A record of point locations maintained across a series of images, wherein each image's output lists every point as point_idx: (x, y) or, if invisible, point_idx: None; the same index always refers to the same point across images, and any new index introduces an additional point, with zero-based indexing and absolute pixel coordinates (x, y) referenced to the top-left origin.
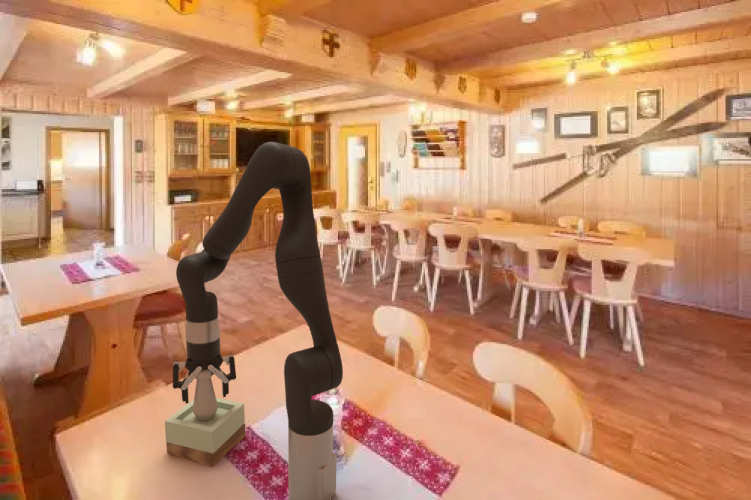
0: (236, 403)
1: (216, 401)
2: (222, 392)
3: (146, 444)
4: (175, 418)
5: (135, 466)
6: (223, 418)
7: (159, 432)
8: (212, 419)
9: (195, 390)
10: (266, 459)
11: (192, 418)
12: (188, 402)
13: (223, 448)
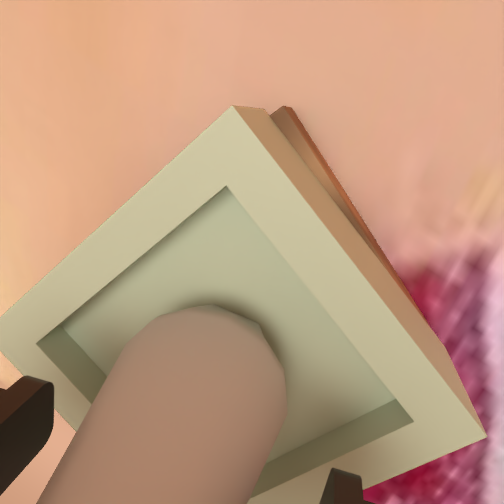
0: (437, 403)
1: (272, 445)
2: (330, 484)
3: (33, 139)
4: (37, 341)
5: (5, 264)
6: (287, 500)
7: (82, 64)
8: None
9: (57, 471)
10: (424, 491)
11: (149, 321)
12: (44, 444)
13: None
